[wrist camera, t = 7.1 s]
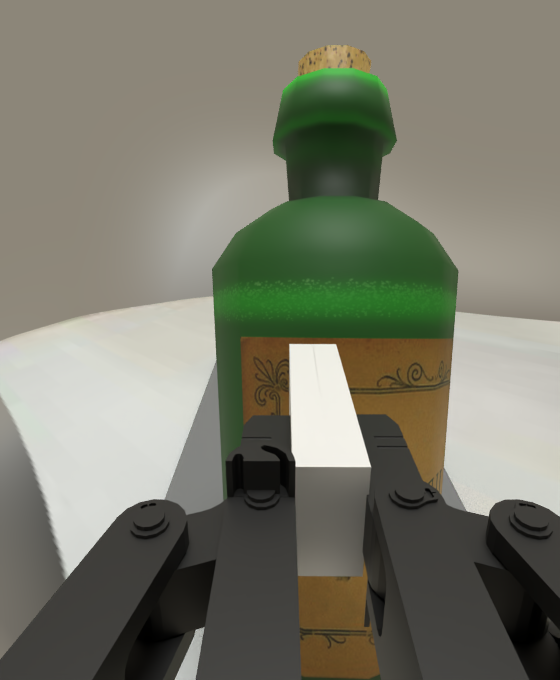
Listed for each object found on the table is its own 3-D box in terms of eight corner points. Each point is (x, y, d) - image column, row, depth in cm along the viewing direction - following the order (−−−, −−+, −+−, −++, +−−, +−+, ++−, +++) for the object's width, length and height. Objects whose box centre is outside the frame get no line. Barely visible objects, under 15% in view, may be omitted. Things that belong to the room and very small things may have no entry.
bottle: (344, 882, 14) (356, -84, 13) (162, 682, 22) (166, 68, 21) (494, 693, 21) (505, 65, 21) (318, 595, 29) (323, 137, 28)
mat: (505, 594, 28) (507, 590, 27) (133, 589, 28) (132, 584, 28) (386, 358, 61) (386, 356, 61) (218, 358, 62) (218, 355, 61)
